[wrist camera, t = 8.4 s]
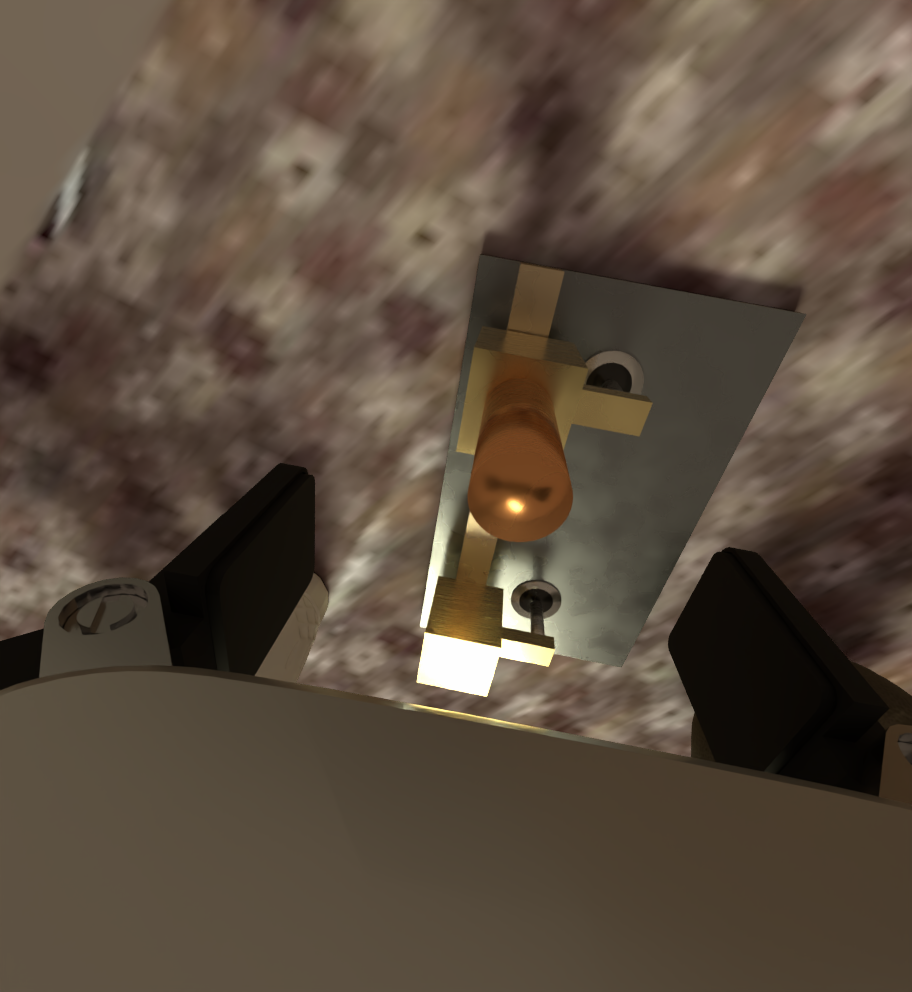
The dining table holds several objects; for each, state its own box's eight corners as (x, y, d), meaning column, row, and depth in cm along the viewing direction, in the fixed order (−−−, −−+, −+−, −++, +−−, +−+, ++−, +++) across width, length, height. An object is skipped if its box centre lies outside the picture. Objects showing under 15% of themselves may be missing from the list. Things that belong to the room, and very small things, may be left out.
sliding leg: (610, 429, 25) (699, 601, 13) (470, 402, 25) (428, 548, 13) (639, 348, 23) (778, 468, 11) (484, 320, 23) (451, 405, 11)
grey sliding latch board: (618, 656, 35) (644, 757, 29) (422, 617, 36) (399, 707, 29) (795, 311, 22) (920, 342, 15) (481, 254, 23) (466, 259, 16)
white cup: (295, 536, 33) (218, 640, 25) (355, 609, 36) (305, 724, 28) (222, 570, 36) (129, 675, 27) (284, 635, 39) (218, 748, 30)
